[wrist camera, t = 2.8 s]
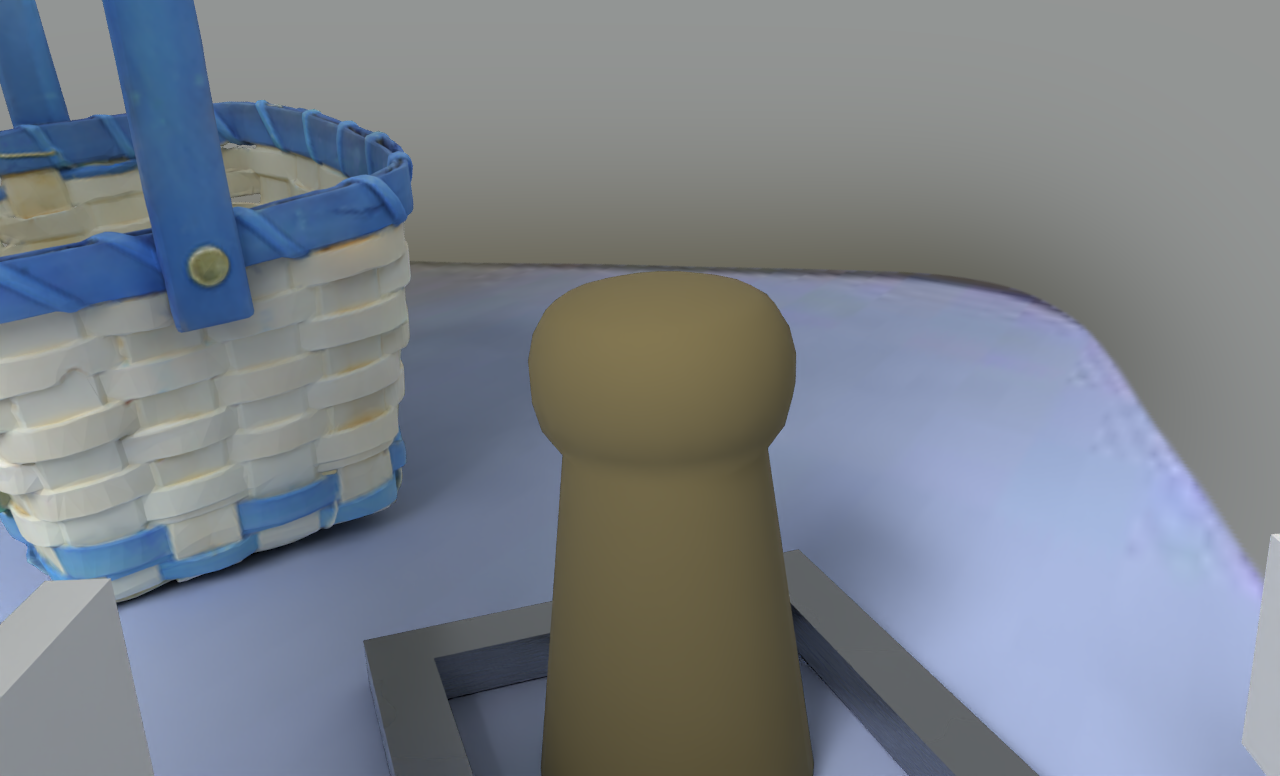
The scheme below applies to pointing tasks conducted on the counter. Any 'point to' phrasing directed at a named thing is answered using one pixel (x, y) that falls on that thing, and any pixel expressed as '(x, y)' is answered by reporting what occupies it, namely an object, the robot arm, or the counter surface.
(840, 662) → the grey square frame
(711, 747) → the cork
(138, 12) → the basket
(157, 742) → the counter surface
